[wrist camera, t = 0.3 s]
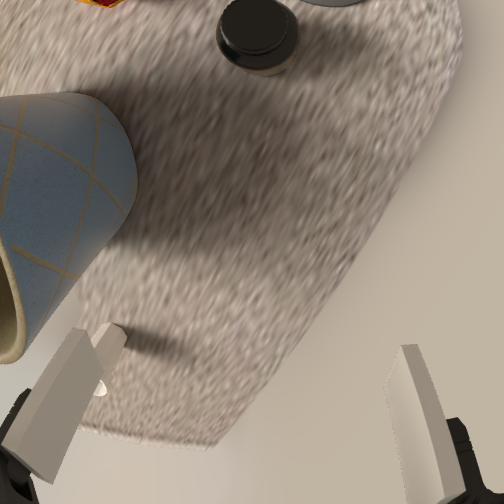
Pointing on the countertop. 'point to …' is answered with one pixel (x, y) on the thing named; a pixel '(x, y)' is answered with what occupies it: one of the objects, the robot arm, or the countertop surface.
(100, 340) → the cup
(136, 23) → the countertop surface
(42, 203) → the planter
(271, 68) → the supplement bottle
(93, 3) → the potion bottle
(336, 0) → the plate
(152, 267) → the countertop surface
